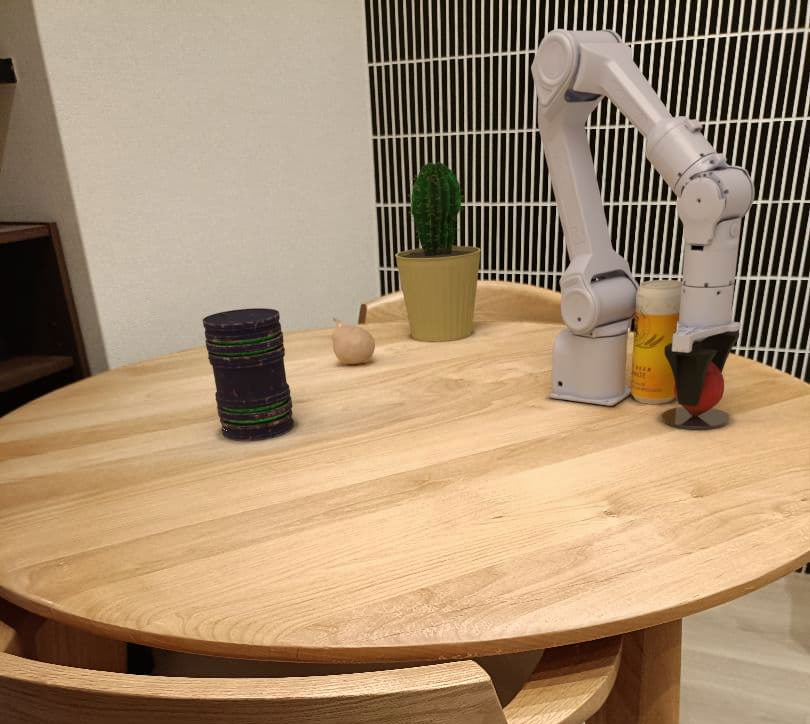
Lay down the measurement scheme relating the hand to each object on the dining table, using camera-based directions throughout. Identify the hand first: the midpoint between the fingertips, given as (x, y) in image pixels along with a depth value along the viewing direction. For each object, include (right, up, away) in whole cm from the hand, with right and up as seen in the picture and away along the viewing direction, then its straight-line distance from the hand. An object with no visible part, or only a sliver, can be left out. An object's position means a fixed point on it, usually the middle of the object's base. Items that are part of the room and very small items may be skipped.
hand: (697, 397), depth 100 cm
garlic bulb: (-44, +12, +38) cm, 59 cm away
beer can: (-2, +1, +10) cm, 10 cm away
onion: (0, -2, +1) cm, 3 cm away
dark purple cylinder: (-56, -3, +10) cm, 57 cm away
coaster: (0, -2, +1) cm, 3 cm away
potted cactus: (-29, +21, +53) cm, 64 cm away
